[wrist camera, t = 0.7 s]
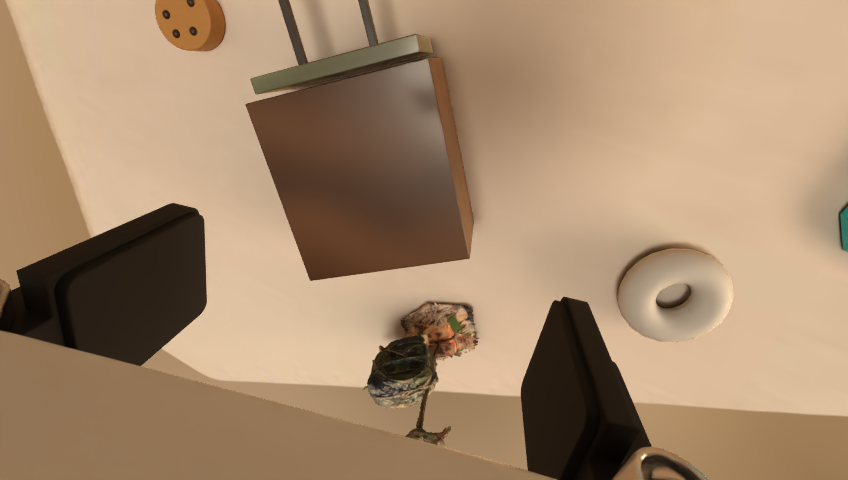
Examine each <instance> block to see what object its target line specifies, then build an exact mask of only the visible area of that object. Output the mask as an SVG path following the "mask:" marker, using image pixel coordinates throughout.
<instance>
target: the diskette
mask: <svg viewBox="0 0 848 480" xmlns="http://www.w3.org/2000/svg"><path fill="white" fill-rule="evenodd" d="M840 216H841V229H842V242H843V250H845V251H847V252H848V206H847V208H846V209H845V210H844V211H843V212H842V213H841V214H840Z"/></svg>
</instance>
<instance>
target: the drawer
mask: <svg viewBox="0 0 848 480" xmlns="http://www.w3.org/2000/svg"><path fill="white" fill-rule="evenodd" d="M358 1H359V5H360V9H361V13H362V17H363V21H364V25H365V29H366V33H367V37H368V41H369V45H370V46H369V47H365V48H362V49H358V50H354V51H351V52H347V53H343V54H339V55H336V56H332V57H328V58H325V59H321V60H317V61H314V62H310V63H308V61H307V58H306V55H305V51H304V48H303V45H302V42H301V38H300V35H299V32H298V28H297V25H296V22H295V19H294V15H293V12H292V9H291V5H290V2H289V0H279V4H280V7H281V10H282V13H283V16H284V20H285V23H286V26H287V29H288V32H289V36H290V39H291V42H292V45H293V48H294V52H295V55H296V58H297V61H298V64H299V66H295V67H291V68H288V69H284V70H280V71H277V72H273V73H269V74H265V75H262V76H258V77H254V78H251V82H252V85H253V88H254V91H255V94H263V93H270V92H277V91H283V90H290V89H296V88H299V87H303V86H307V85H311V84H315V83H319V82H323V81H327V80H331V79H335V78H338V77H342V76H346V75H350V74H354V73H358V72H362V71H366V70H370V69H373V68H377V67H381V66H385V65H389V64H393V63H397V62H401V61H405V60H409V59H412V58H416V57H420V56H424V55H428V54H432V53H433V51H432V46H431V41H430V38H427V37H424V36H421V35H418V34H414V35H410V36H406V37H402V38H399V39H395V40H391V41H388V42H384V43H380V44H378V39H377V35H376V31H375V27H374V23H373V19H372V15H371V11H370V7H369V2H368V0H358Z"/></svg>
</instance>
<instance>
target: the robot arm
mask: <svg viewBox="0 0 848 480" xmlns="http://www.w3.org/2000/svg"><path fill="white" fill-rule="evenodd" d="M17 275H18V279H19V283H20V287H18V288H16V289H14V290H12V291H11V290H10V286H9V284H8V283H7V282H5V281H4V280H1V279H0V480H708V479H707V478H706V477H705V476H704V475H703V474H702V473H701V472H700V471H699V470H698V469H696V468H695V467H694V466H693V465H692V464H690V463H689V462H687V461H686V460H684V459H683V458H681V457H679V456H678V455H676V454H674V453H672V452H669V451H667V450H664V449H661V448H655V447H652V446H651V444H650V442H649V439H648V437H647V435H646V433H645V430H644V428H643V425H642V423H641V421H640V418H639V416H638V413H637V411H636V409H635V406H634V404H633V402H632V399H631V397H630V395H629V392H628V390H627V387H626V385H625V383H624V380H623V378H622V376H621V373H620V371H619V369H618V367H617V365H616V363H615V362H613V361H612V360H611V357H610V355H609V353H608V350H607V348H606V345H605V343H604V341H603V338H602V336H601V333H600V331H599V328H598V326H597V324H596V321H595V319H594V316H593V314H592V311H591V309H590V307H589V304H588V303H587V302H584V301H580V300H576V299H572V298H568V297H563V298H562V299H561V301H556V300H555V301H553V303H552V305H551V308H550V310H549V313H548V316H547V318H546V321H545V323H544V326H543V329H542V331H541V334H540V337H539V339H538V342H537V345H536V347H535V350H534V353H533V355H532V358H531V361H530V363H529V366H528V369H527V371H526V374H525V376H524V379H523V382H522V387H521V402H522V412H523V423H524V434H525V444H526V455H527V466H528V471H527V470H524V469H520V468H517V467H513V466H511V465H507V464H504V463H501V462H497V461H494V460H490V459H487V458H483V457H479V456H476V455H472V454H468V453H465V452H461V451H457V450H454V449H450V448H446V447H442V446H439V445H435V444H431V443H428V442H424V441H420V440H416V439H413V438H409V437H405V436H402V435H398V434H394V433H391V432H387V431H383V430H379V429H376V428H372V427H368V426H364V425H361V424H357V423H353V422H349V421H346V420H342V419H338V418H334V417H330V416H327V415H323V414H319V413H315V412H312V411H308V410H304V409H300V408H296V407H293V406H289V405H285V404H281V403H277V402H274V401H269V400H266V399H262V398H258V397H255V396H251V395H247V394H243V393H239V392H236V391H232V390H228V389H224V388H221V387H217V386H213V385H209V384H206V383H202V382H198V381H194V380H190V379H186V378H183V377H179V376H175V375H172V374H168V373H164V372H160V371H156V370H152V369H149V368H145V367H141V365H142V364H144V363H145V362H146V361H147V360H148V359H149V358H151V357H152V356H153V355H154V354H155V353H156V352H157V351H159V350H160V349H161V348H162V347H163V346H164V345H166V344H167V343H168V342H169V341H170V340H171V339H172V338H174V337H175V336H176V335H177V334H178V333H179V332H181V331H182V330H183V329H184V328H185V327H186V326H188V325H189V324H190V323H191V322H192V321H193V320H194V319H196V318H197V317H198V316H199V315H200V314H201V313H202V312H203V310H204V309H205V306H206V302H207V294H206V263H205V231H204V219H203V217H202V216H201V215H199V212H198V210H197V209H195V208H192V207H187V206H183V205H179V204H175V203H171V204H168V205H166V206H164V207H161V208H159V209H157V210H155V211H152V212H150V213H148V214H145V215H143V216H141V217H139V218H136V219H134V220H132V221H129V222H127V223H125V224H122V225H120V226H118V227H116V228H113V229H111V230H109V231H106V232H104V233H102V234H100V235H97V236H95V237H93V238H90V239H89V240H86V241H84V242H81V243H79V244H77V245H74V246H72V247H70V248H68V249H65V250H63V251H61V252H58V253H56V254H54V255H51V256H49V257H47V258H45V259H42V260H40V261H38V262H36V263H33V264H31V265H29V266H26V267H24V268H22V269H19V270H17Z"/></svg>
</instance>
